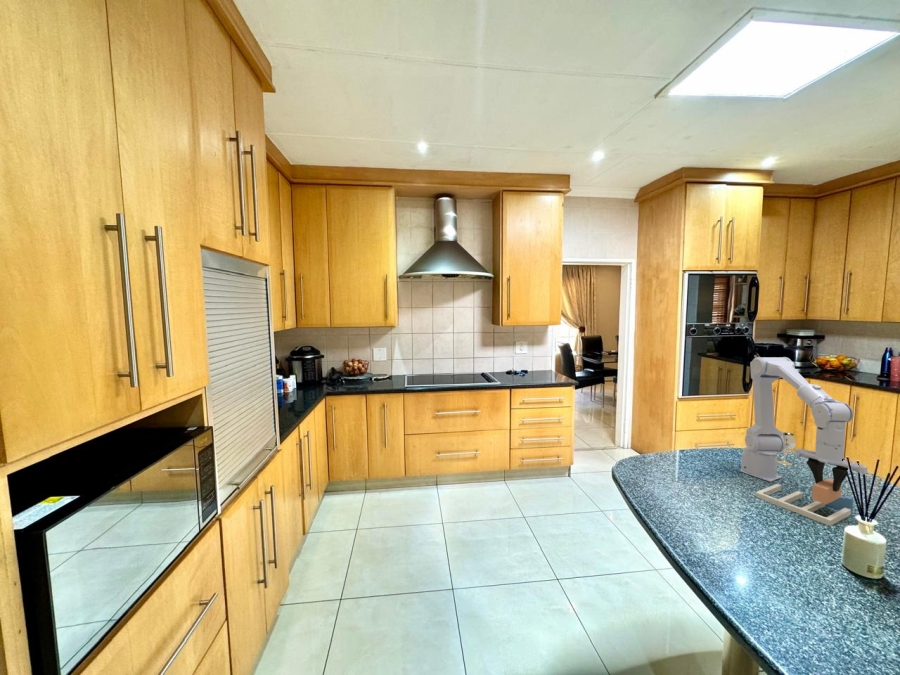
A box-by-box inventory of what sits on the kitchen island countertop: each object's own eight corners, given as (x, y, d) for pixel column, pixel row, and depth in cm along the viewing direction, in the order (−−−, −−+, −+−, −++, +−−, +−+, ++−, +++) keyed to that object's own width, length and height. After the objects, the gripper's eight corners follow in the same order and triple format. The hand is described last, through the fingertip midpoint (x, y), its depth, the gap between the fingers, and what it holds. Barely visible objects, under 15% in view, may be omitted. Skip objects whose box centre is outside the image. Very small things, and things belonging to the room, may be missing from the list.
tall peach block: (812, 499, 103) (813, 484, 103) (826, 492, 107) (827, 478, 106) (826, 504, 100) (827, 489, 100) (840, 497, 104) (841, 482, 104)
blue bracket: (820, 504, 109) (821, 489, 109) (822, 502, 110) (823, 488, 110) (849, 514, 103) (850, 499, 103) (852, 513, 104) (853, 497, 104)
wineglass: (798, 466, 135) (800, 436, 134) (781, 465, 136) (782, 435, 135) (787, 460, 141) (788, 431, 140) (770, 459, 142) (772, 430, 141)
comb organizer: (755, 496, 114) (755, 492, 114) (776, 488, 119) (776, 483, 119) (830, 526, 98) (830, 520, 98) (850, 514, 103) (851, 509, 103)
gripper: (790, 437, 107) (788, 480, 108) (860, 454, 94) (857, 502, 95) (802, 433, 110) (800, 475, 111) (871, 449, 97) (868, 496, 98)
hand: (827, 487), depth 103 cm, fingers closed on tall peach block, 3 cm apart
